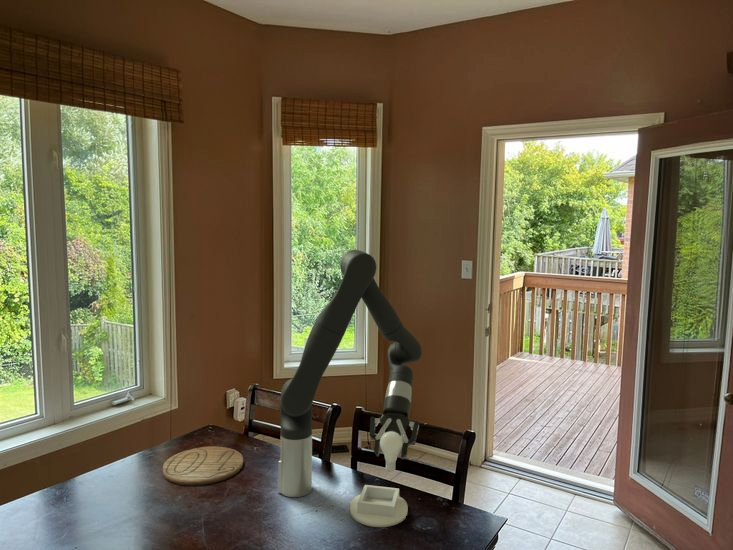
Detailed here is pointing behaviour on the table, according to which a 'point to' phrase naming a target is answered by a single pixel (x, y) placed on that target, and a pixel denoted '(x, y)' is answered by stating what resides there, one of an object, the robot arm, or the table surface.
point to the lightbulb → (391, 448)
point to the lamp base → (379, 506)
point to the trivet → (202, 465)
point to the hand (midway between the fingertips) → (389, 456)
